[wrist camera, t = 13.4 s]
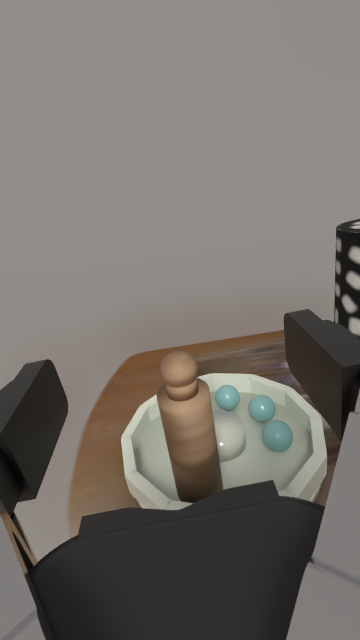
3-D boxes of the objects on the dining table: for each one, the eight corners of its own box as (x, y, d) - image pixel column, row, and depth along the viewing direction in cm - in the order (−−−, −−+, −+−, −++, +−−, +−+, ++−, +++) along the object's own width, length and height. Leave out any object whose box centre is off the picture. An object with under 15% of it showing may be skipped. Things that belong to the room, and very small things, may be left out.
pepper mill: (232, 484, 28) (215, 347, 23) (201, 518, 26) (174, 374, 21) (198, 462, 31) (176, 336, 26) (167, 491, 28) (137, 357, 24)
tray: (357, 437, 32) (360, 404, 31) (243, 610, 21) (237, 570, 19) (212, 379, 46) (208, 354, 44) (94, 465, 34) (84, 435, 33)
